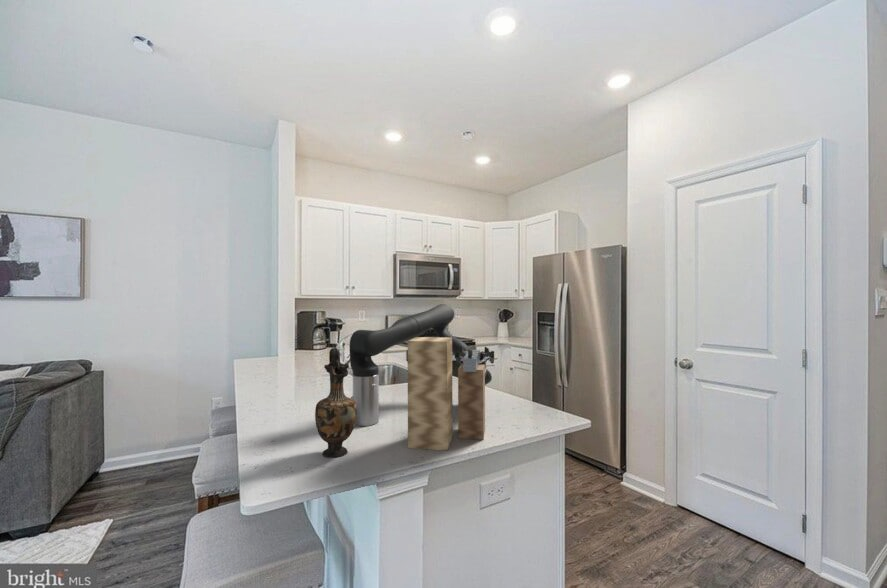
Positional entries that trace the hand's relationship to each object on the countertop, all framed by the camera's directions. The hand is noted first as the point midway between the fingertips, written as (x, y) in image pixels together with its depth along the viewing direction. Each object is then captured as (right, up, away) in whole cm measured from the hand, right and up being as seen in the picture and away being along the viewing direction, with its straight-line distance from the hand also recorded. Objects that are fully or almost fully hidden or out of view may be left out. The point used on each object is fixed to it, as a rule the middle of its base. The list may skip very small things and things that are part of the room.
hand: (473, 349), depth 134 cm
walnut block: (-1, -27, -7) cm, 28 cm away
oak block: (-14, -27, -14) cm, 34 cm away
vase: (-42, -27, -22) cm, 54 cm away
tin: (-1, -5, -5) cm, 7 cm away
